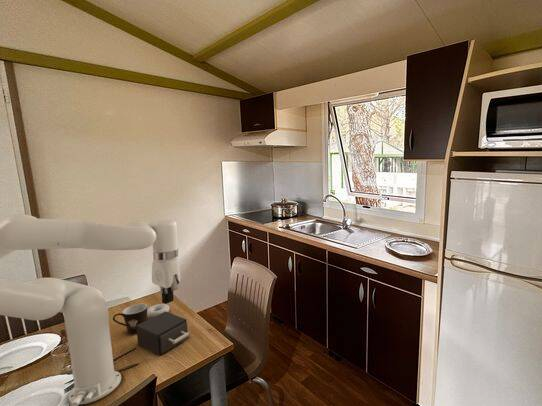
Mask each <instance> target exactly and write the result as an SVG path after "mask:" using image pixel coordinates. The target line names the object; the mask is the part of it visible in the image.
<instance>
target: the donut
mask: <svg viewBox="0 0 542 406" xmlns="http://www.w3.org/2000/svg"><path fill="white" fill-rule="evenodd" d="M165 311H166V312H169V313H170V306H169V305H168V303H167V304H164V303H157V304H154V305H151V306H149V307H147V319H148V320H149V319H151V318H153V317H155V316H157V315H159V314H161V313H163V312H165Z"/></svg>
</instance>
